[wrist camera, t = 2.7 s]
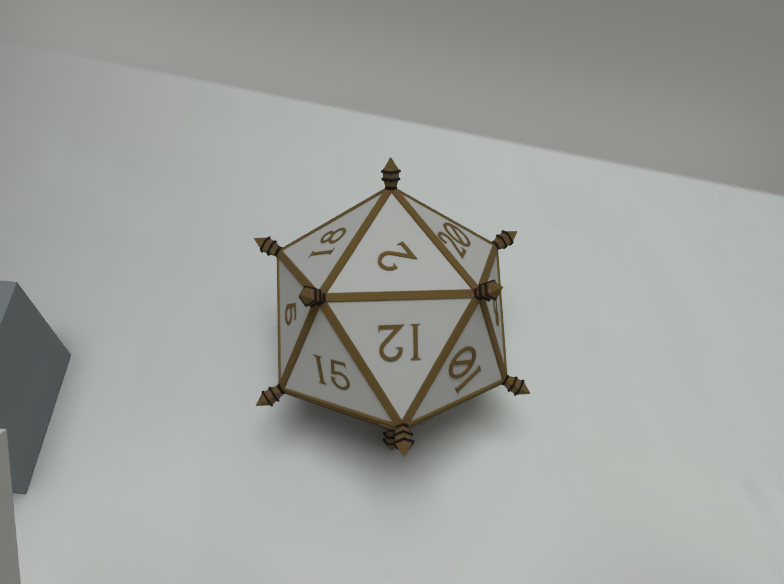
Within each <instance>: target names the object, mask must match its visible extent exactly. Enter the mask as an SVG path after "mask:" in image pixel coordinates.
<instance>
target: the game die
mask: <svg viewBox="0 0 784 584" xmlns="http://www.w3.org/2000/svg"><path fill="white" fill-rule="evenodd" d="M399 172H401V170H399V169H398V168H397V166H396V165H395V163H394V161H393V160H392V158H391V157H390V159H389V161H388V162H387V164H386V166H385V168H384V169H383V170H381V173H383V178H382V181H384V184H385V189H383V190H381V191H379V192H378V193H376V194H374V195H373V196H371V197H369V198H367V199H366V200H364V201H362V202H361V203H359V204H357V205H355V206H354V207H352V208H350V209H348V210H347V211H345V212H343V213H342V214H340V215H338V216H336V217H335V218H333V219H331V220H330V221H328V222H326V223H324V224H323V225H321V226H319V227H317V228H316V229H314V230H312V231H311V232H309V233H307V234H305V235H304V236H302V237H300V238H299V239H297V240H295V241H293V242H292V243H290V244H288V245H286V246H285V247H283V248H282V247H280V246H279V245H278V244H277V243H276V242H277V241H276V240H275V241H273V240H271V239H270V236H269V237H267V238H254V239H255V241H256V242H257V244H258V246H259V247H260V251H261V252H262V253H263V252H265V253H267V255H268V256H269V255H274V256H276V257H277V303H278V370H279V384H278V385H277V386H275V387H272V388H271V387H269V389H268V390H266V391H265V392H264V391H262V395H261V397H260V398H259V400H258V402H257V404H256V406H264V405H271V407H272V406H273V403H275V402H276V401H278V402H279V398H280V397H281V396H282V395H283V394H288V395H291V396H294V397H297V398H300V399H302V400H305V401H308V402H311V403H314V404H317V405H320V406H323V407H325V408H328V409H331V410H334V411H337V412H340V413H343V414H345V415H348V416H351V417H354V418H357V419H360V420H363V421H365V422H368V423H371V424H374V425H377V426H380V427H383V428H386V431H385V432H384V433H383V434H384V436H385V438H383V441H384V442H385V443H386V445H388V446H389V447H390V449H391V450H393V448H394V447H396V449H399V450H400V452H401V453H402V454H403V455H404V457H405V456H406V454H407V452H408V450H409V449H410V448H411V446H412V445H413V443H414V440H412V436H413V433H411V432H410V431H409V429H408V428H410V427H412V426H415V425H417V424H419V423H421V422H423V421H425V420H427V419H429V418H431V417H434V416H436V415H438V414H440V413H442V412H444V411H446V410H448V409H450V408H453V407H455V406H457V405H459V404H461V403H463V402H465V401H467V400H469V399H472V398H474V397H476V396H478V395H480V394H482V393H484V392H486V391H488V390H490V389H493V388H495V387H497V386H499V385H504V386H505V387H506V388H507V389H508V392H510V391H511V392H513V393H514V396H516V395H518V394H530V392H529V390H528V389H527V387H526V385H525V383H524V380H519V379H517V378H518V377H511V376H508V375H507V365H506V352H505V338H504V324H503V311H502V297H501V289H502V288H503V287H502V286H501V284H500V270H499V256H498V250H499V249H502V248H503V249H505V248H506V247H507V246H508V245H512V244H513V243H514V242H513V240H514V238H515V236H516V233H517V231H504V230H502V233H501V234H500V235H498V234H497V235H496V238H495V240H494V241H492V242H491V241H489V240H487V239H485V238H483V237H482V236H480V235H478V234H476V233H475V232H473V231H471V230H469V229H468V228H466V227H464V226H462V225H460V224H459V223H457V222H455V221H453V220H452V219H450V218H448V217H446V216H444V215H443V214H441V213H439V212H437V211H436V210H434V209H432V208H430V207H429V206H427V205H425V204H423V203H421V202H420V201H418V200H416V199H414V198H413V197H411V196H409V195H407V194H405V193H404V192H402V191H400V190H398V189H397V183H398V180H400V178H399Z"/></svg>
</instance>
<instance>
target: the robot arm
mask: <svg viewBox="0 0 784 584" xmlns="http://www.w3.org/2000/svg"><path fill="white" fill-rule="evenodd" d="M0 584H21V583H20V572H19V561H18V550H17V539H16V528H15V517H14V506H13V495H12V484H11V473H10V462H9V451H8V440H7V429H0Z"/></svg>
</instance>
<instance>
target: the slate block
mask: <svg viewBox="0 0 784 584" xmlns="http://www.w3.org/2000/svg"><path fill="white" fill-rule="evenodd" d="M70 357H71V354H70V353H69V352H68V350H67V349H66V348H65V346H64V345H63V344H62V342H61V341H60V340H59V338H58V337H57V335H56V334H55V333H54V331H53V330H52V329H51V327H50V326H49V325H48V323H47V322H46V321H45V319H44V318H43V317H42V315H41V314H40V313H39V311H38V310H37V308H36V307H35V306H34V304H33V303H32V302H31V300H30V299H29V298H28V296H27V295H26V294H25V292H24V291H23V290H22V288H21V287H20V286H19V284H18V283H17V282H9V281H0V429H7V440H8V451H9V462H10V473H11V484H12V493H20V494H26V493H27V490H28V487H29V484H30V481H31V478H32V475H33V471H34V468H35V465H36V462H37V459H38V456H39V453H40V450H41V447H42V444H43V440H44V437H45V434H46V431H47V428H48V425H49V422H50V419H51V416H52V412H53V409H54V406H55V403H56V400H57V397H58V394H59V391H60V388H61V385H62V381H63V378H64V375H65V372H66V369H67V366H68V363H69V360H70Z"/></svg>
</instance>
